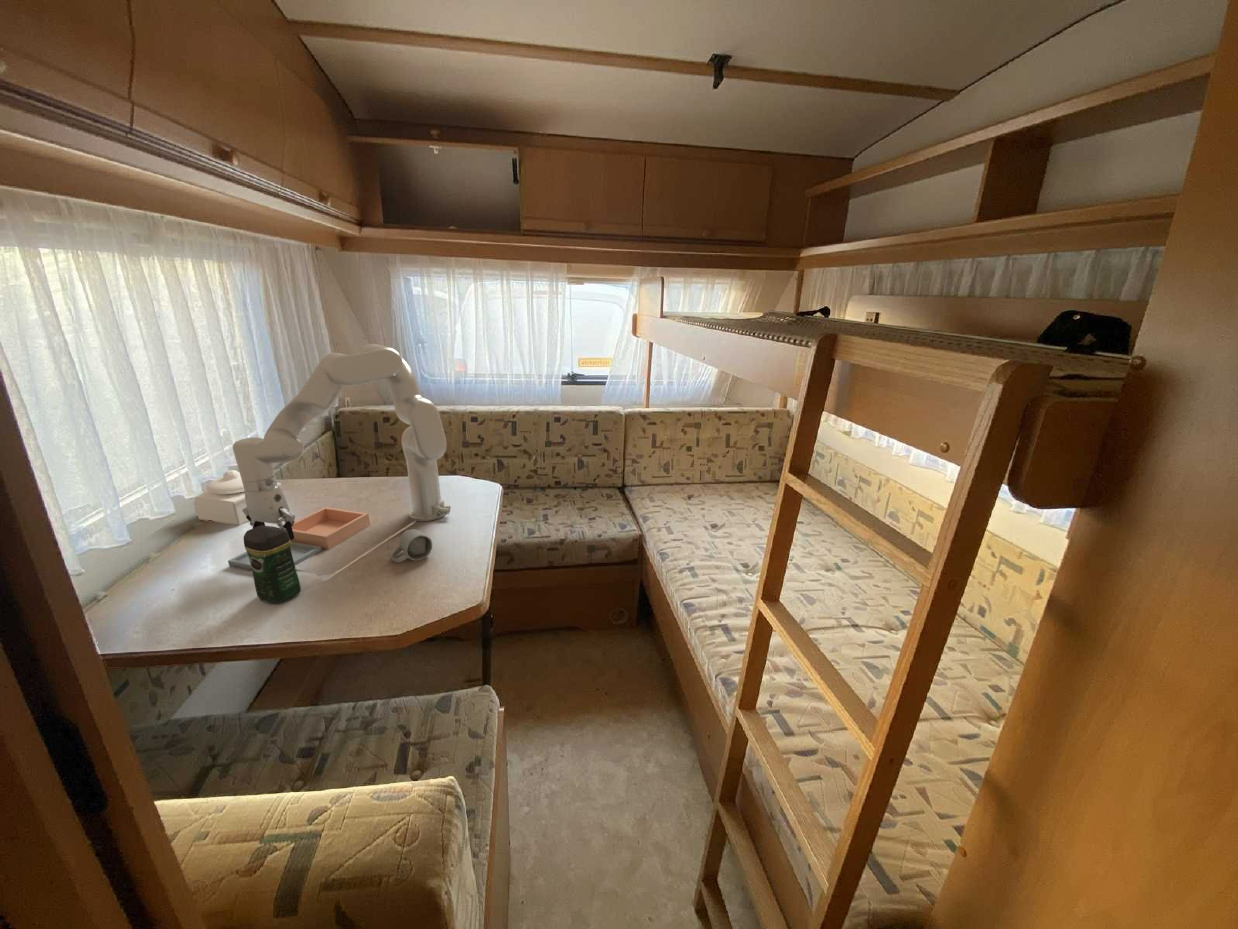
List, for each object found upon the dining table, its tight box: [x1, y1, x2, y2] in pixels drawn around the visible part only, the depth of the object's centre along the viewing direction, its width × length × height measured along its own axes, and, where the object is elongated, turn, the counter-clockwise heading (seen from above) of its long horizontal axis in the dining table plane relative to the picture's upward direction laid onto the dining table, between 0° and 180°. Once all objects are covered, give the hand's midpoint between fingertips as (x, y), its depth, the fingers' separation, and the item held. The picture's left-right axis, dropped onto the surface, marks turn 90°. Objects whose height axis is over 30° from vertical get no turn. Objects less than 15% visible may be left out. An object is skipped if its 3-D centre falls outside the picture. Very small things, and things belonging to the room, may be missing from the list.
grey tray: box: [227, 542, 323, 572], centre depth 144 cm, size 18×14×2 cm
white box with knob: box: [193, 469, 282, 527], centre depth 171 cm, size 18×18×16 cm
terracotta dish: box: [291, 506, 371, 550], centre depth 158 cm, size 17×17×5 cm
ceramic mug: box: [390, 528, 433, 564], centre depth 146 cm, size 11×8×8 cm
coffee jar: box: [243, 525, 302, 604], centre depth 125 cm, size 10×8×19 cm
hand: (275, 538), depth 143 cm, fingers open, 9 cm apart
